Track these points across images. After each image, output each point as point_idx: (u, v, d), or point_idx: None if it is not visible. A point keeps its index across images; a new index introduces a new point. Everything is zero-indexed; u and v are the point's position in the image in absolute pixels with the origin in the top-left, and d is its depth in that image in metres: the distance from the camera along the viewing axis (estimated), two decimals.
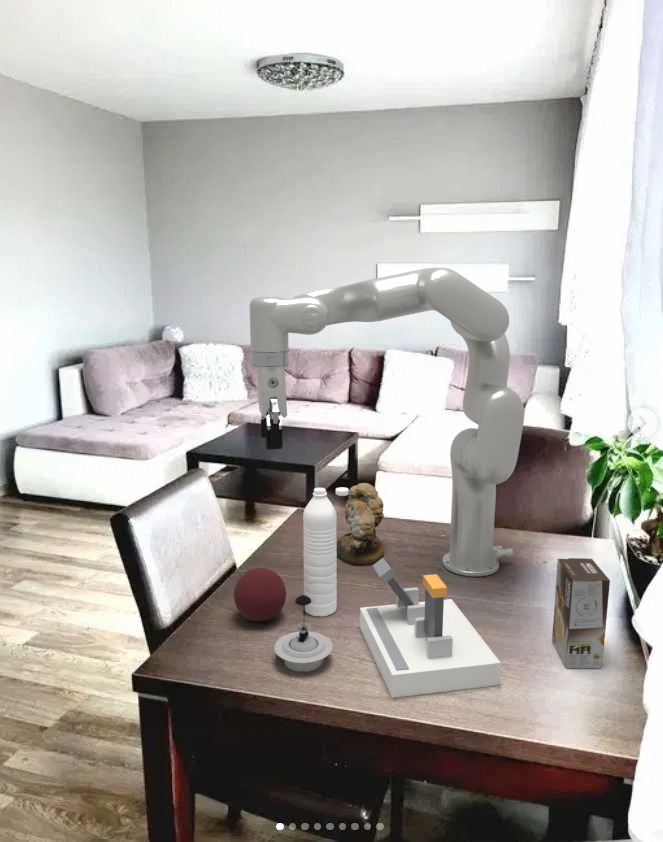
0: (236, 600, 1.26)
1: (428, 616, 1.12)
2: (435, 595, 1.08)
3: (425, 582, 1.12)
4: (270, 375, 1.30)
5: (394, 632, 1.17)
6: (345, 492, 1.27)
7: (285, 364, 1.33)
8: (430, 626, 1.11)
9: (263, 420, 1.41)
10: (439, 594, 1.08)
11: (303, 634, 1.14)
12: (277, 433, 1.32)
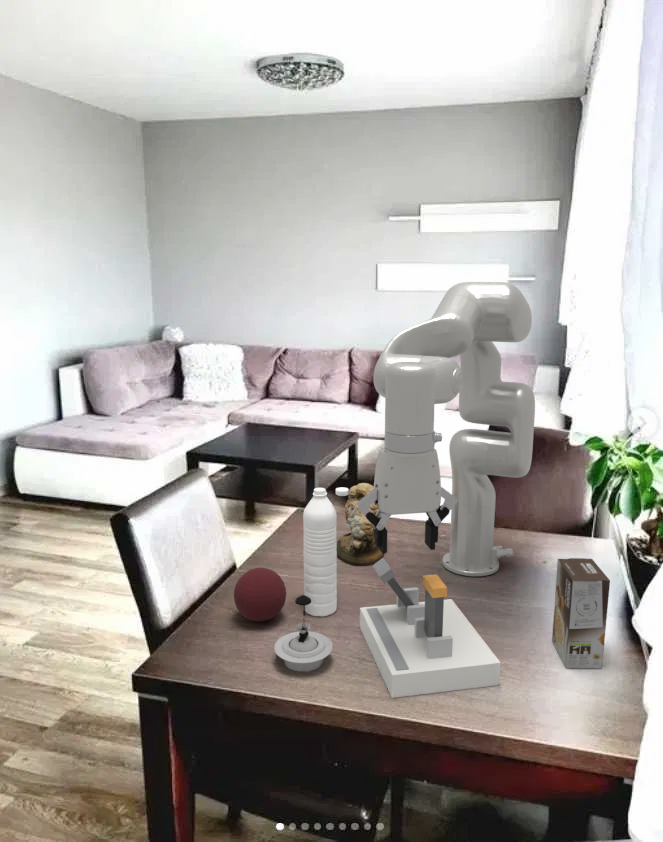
0: (236, 600, 1.26)
1: (428, 616, 1.12)
2: (435, 595, 1.08)
3: (425, 582, 1.12)
4: None
5: (394, 632, 1.17)
6: (345, 492, 1.27)
7: None
8: (430, 626, 1.11)
9: (386, 530, 1.06)
10: (439, 594, 1.08)
11: (303, 634, 1.14)
12: None
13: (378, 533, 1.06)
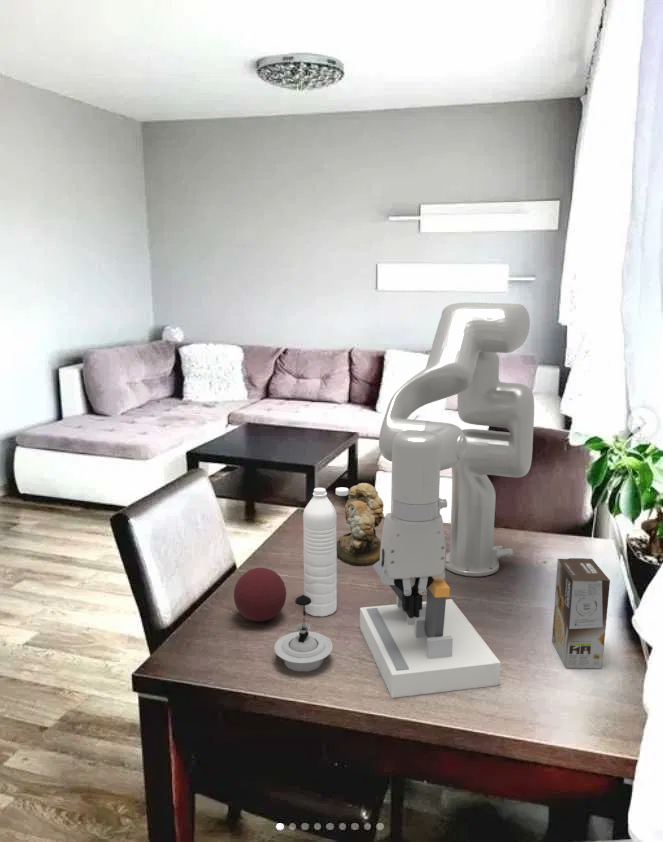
0: (236, 600, 1.26)
1: (429, 616, 1.12)
2: (437, 594, 1.08)
3: None
4: None
5: (394, 632, 1.17)
6: (345, 492, 1.27)
7: None
8: (431, 626, 1.11)
9: (413, 595, 1.09)
10: (442, 594, 1.08)
11: (303, 634, 1.14)
12: None
13: (405, 598, 1.09)
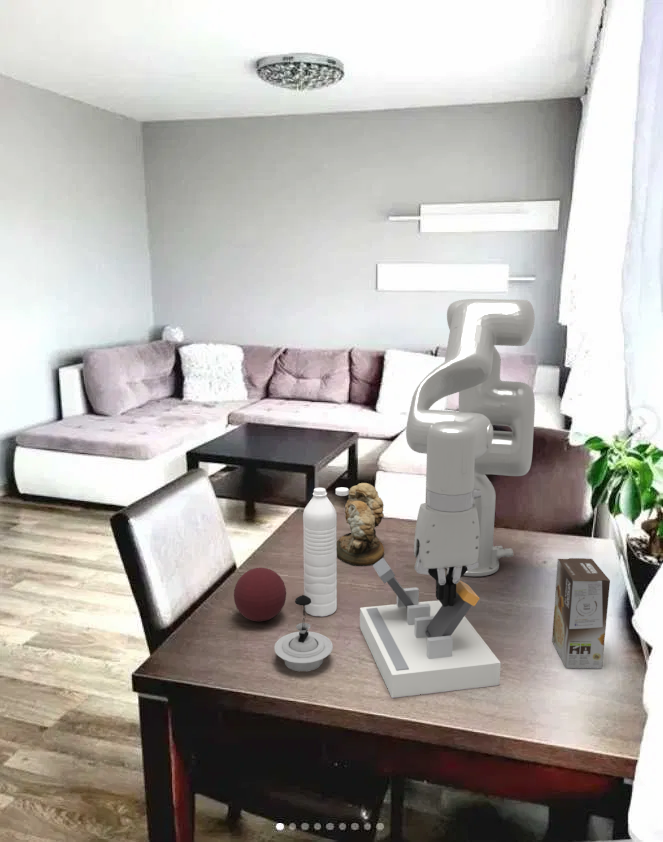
0: (236, 600, 1.26)
1: (442, 616, 1.13)
2: (466, 598, 1.09)
3: (457, 585, 1.13)
4: None
5: (394, 632, 1.17)
6: (345, 492, 1.27)
7: None
8: (440, 626, 1.12)
9: (447, 584, 1.10)
10: (470, 600, 1.10)
11: (303, 634, 1.14)
12: None
13: (440, 587, 1.10)
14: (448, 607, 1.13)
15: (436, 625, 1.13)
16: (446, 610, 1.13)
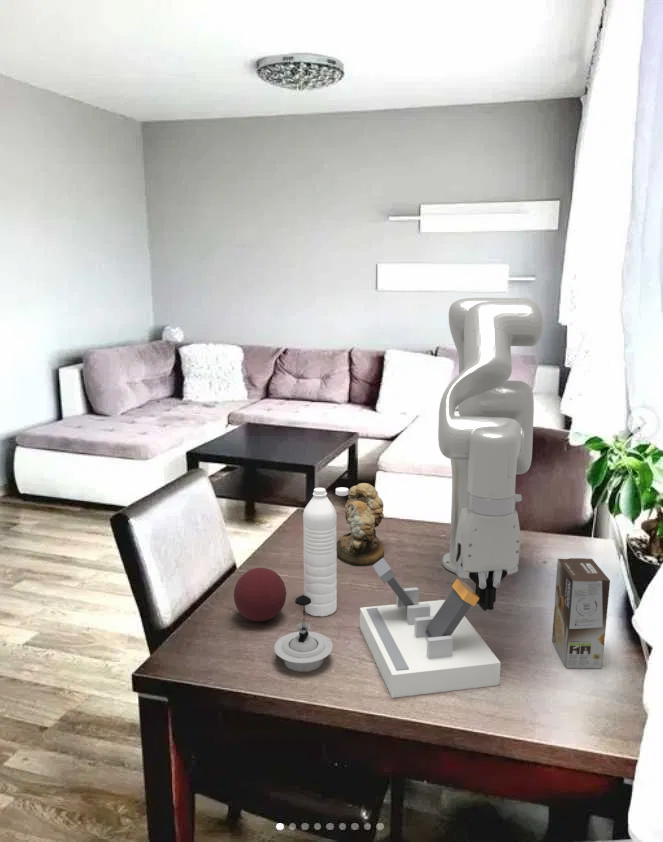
0: (236, 600, 1.26)
1: (442, 616, 1.13)
2: (466, 598, 1.09)
3: (457, 585, 1.13)
4: None
5: (394, 632, 1.17)
6: (345, 492, 1.27)
7: None
8: (440, 626, 1.12)
9: None
10: (470, 600, 1.10)
11: (303, 634, 1.14)
12: None
13: (480, 591, 1.12)
14: (448, 607, 1.13)
15: (436, 625, 1.13)
16: (446, 610, 1.13)
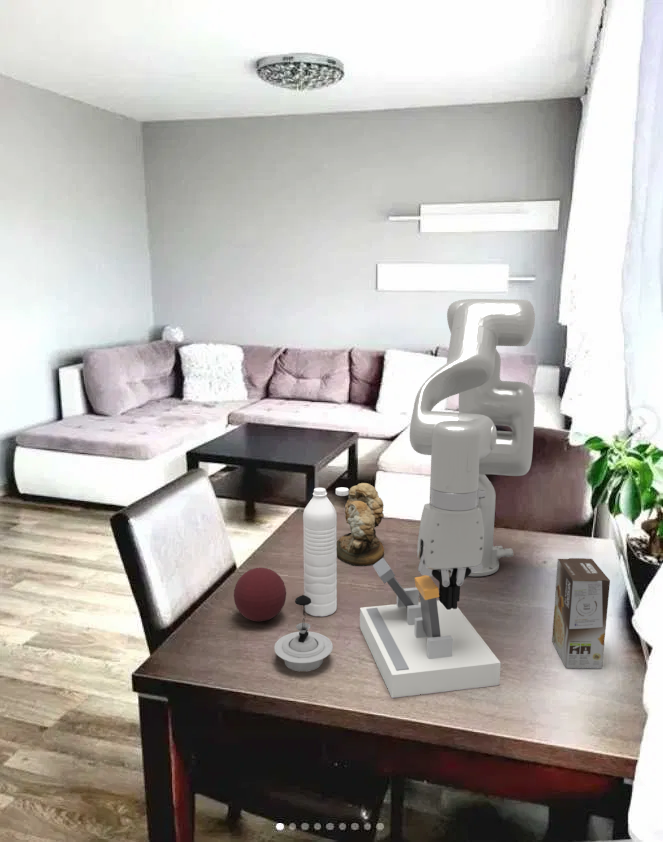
0: (236, 600, 1.26)
1: (425, 617, 1.12)
2: (427, 596, 1.08)
3: (417, 585, 1.11)
4: None
5: (394, 632, 1.17)
6: (345, 492, 1.27)
7: None
8: (428, 627, 1.11)
9: None
10: (431, 595, 1.08)
11: (303, 634, 1.14)
12: None
13: (443, 589, 1.09)
14: (424, 607, 1.12)
15: (426, 627, 1.12)
16: (424, 610, 1.12)
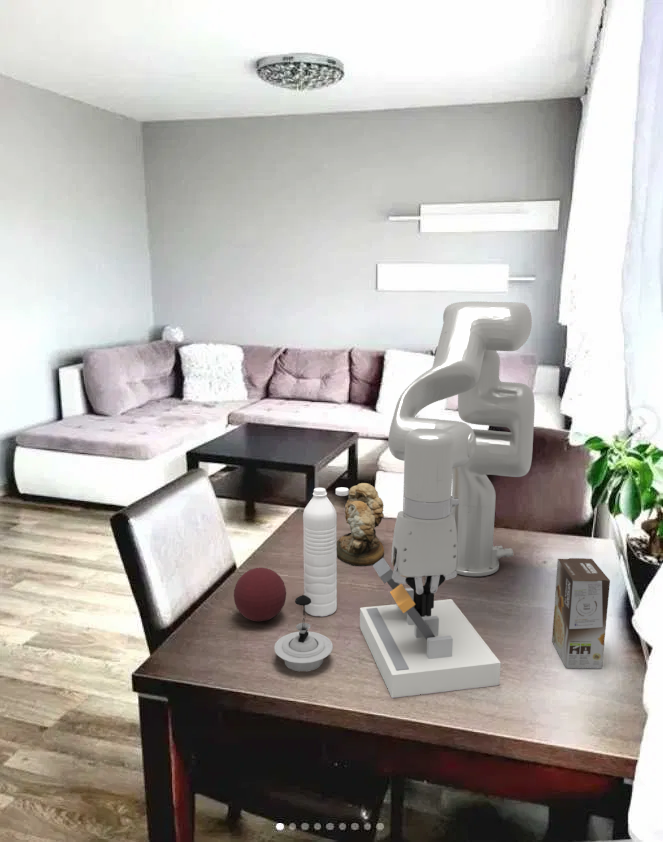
0: (236, 600, 1.26)
1: None
2: (404, 609, 1.08)
3: None
4: None
5: (394, 632, 1.17)
6: (345, 492, 1.27)
7: None
8: None
9: (425, 594, 1.09)
10: (407, 606, 1.08)
11: (303, 634, 1.14)
12: None
13: (417, 597, 1.09)
14: None
15: None
16: None
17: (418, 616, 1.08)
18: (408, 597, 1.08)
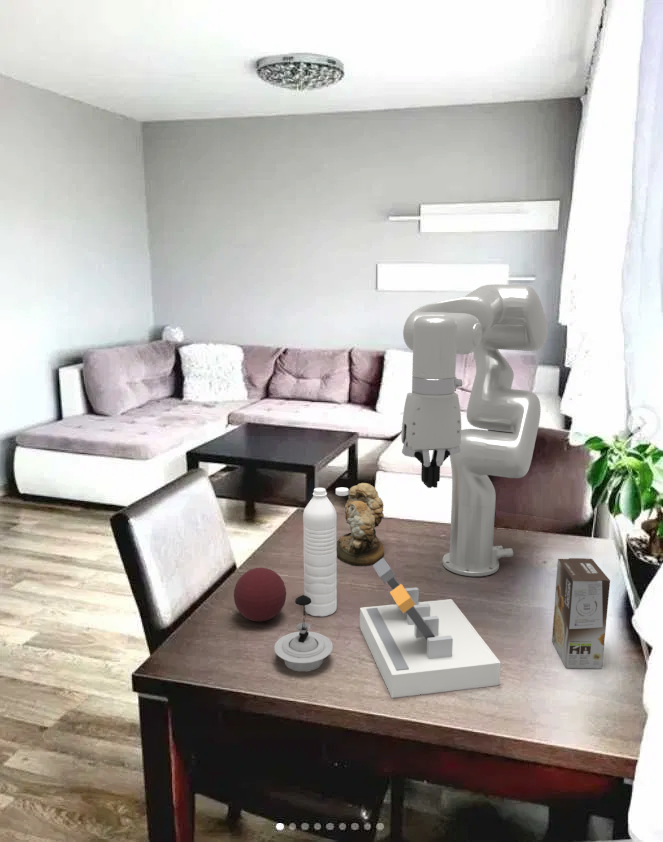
0: (236, 600, 1.26)
1: None
2: (404, 609, 1.08)
3: None
4: None
5: (394, 632, 1.17)
6: (345, 492, 1.27)
7: None
8: None
9: None
10: (407, 606, 1.08)
11: (303, 634, 1.14)
12: None
13: (425, 470, 1.21)
14: None
15: None
16: None
17: (418, 616, 1.08)
18: (408, 597, 1.08)
